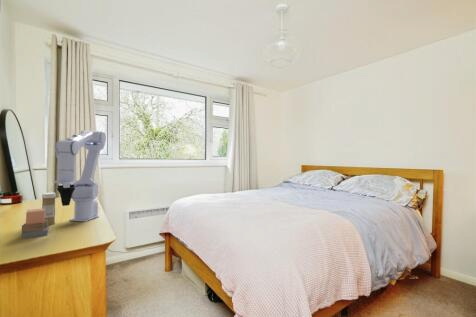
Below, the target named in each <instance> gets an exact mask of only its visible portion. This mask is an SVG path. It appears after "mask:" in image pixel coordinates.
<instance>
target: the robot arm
mask: <svg viewBox="0 0 476 317" xmlns="http://www.w3.org/2000/svg"><path fill="white" fill-rule="evenodd" d="M106 141H107V136H106V133H105V131H103V130H101V131H100V130H86V129H83V130H81V131H80V134H77V133H76V134H75V133H73V134H72V136H70V137H67V138H66V139H65V140H62V139H60V140H58V141H56V143H55V145H54V152H55V157H56V159H57V174H56V175H57V178H56V180H54V181H53V184H58V185H57V188H56V191H58V193H59V195H60V196H59V197H60V201H61V206H63V207H65V206H70V203H71V202H74V209H73V210H74V212H73V218H70V219H68V221H71V222H87V221H91V220H93V219H96V218H100V215H99V203H98V201H97V200H96V198H97V197H98V194H99V191H98V190H99V189H98V188H99V186H98V183H97V182H96V181H94V178H95V173H96V169H97V165H98V161H99V157H100V153H101V150H103V149H104V148H105V145H106ZM82 148H84V149H86V150H88V152H87V155H86V159H85V161H84V162H85V163H84V166H83V169H82V174H81V176H80V179H78V180H76V164H77V162H76V156H77V155H78V154H79V151H80V150H81V149H82ZM71 199H72V200H71Z"/></svg>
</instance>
